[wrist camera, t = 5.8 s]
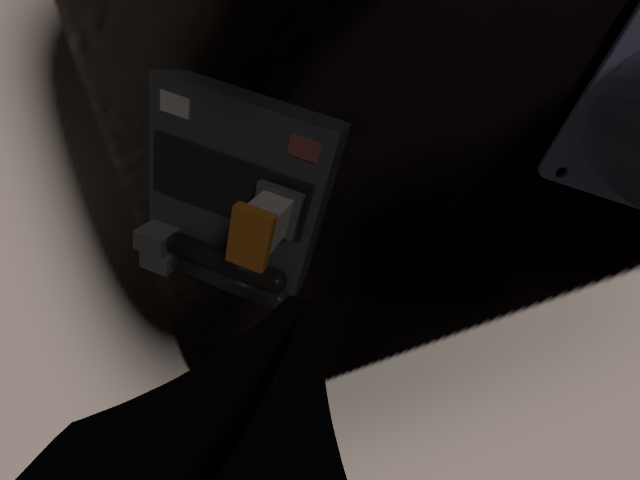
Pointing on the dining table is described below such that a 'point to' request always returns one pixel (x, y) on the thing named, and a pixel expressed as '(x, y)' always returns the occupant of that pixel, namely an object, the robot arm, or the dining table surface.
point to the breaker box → (231, 179)
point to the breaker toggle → (262, 224)
